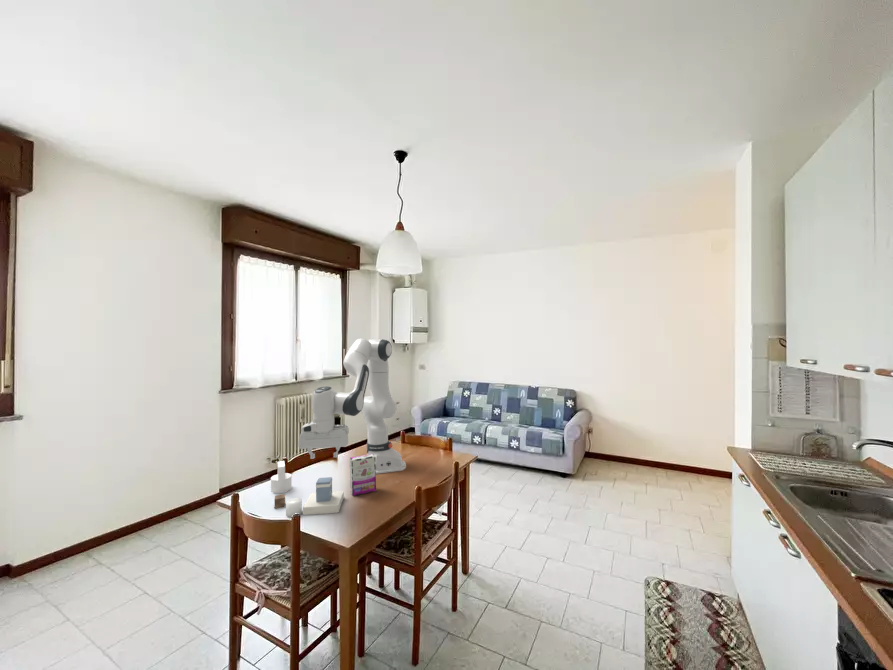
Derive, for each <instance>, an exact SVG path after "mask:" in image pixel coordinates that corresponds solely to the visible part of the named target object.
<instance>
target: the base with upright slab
mask: <svg viewBox="0 0 893 670" xmlns="http://www.w3.org/2000/svg"><path fill="white" fill-rule="evenodd" d="M292 478H293V477H292V474H291V473H288V472H286V464H285V460H280V461H277V474H274V475H272V476H271V477H270V492H271V493H272V492H274V493H273V494H283V493H286V491H287V492H289V491H290V490H292V489H293V487H292V486H293V485H292V481H293V479H292ZM282 492H283V493H282Z"/></svg>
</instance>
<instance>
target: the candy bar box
mask: <svg viewBox="0 0 893 670" xmlns="http://www.w3.org/2000/svg"><path fill="white" fill-rule="evenodd" d="M376 475H377V474H376V465H375V456H374V455H373V454H368V455H367V454H362V455H357V456H352V457H349V479H350V480H349V483H350V484H349V485H350V490H349V491H350V494H351V496H353V497H354V496H360V495H365V494H369V493H373V492H376V491H377V477H376Z"/></svg>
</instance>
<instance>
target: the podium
mask: <svg viewBox="0 0 893 670" xmlns="http://www.w3.org/2000/svg"><path fill="white" fill-rule="evenodd" d="M344 495H345V491H344V490H339V491H338V490H337V491H332V497H331V500H330V501H325V502H316V492H311V493H310V495H309V496H308V498H307V499H306V501H305V503H304V504H303V505H302V515H303V516H307V515H320V514H323V515H324V514H336V513H339V512H340V509H341V507H342V503H343V500H344V497H345V496H344Z"/></svg>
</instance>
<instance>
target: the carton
mask: <svg viewBox="0 0 893 670" xmlns="http://www.w3.org/2000/svg"><path fill="white" fill-rule="evenodd" d="M332 492H333V477H332V476H331V477H330V476H329V477H318V479H317V480H316V482H315V493H316V502H325V501H330V500H331V497H332Z"/></svg>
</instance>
